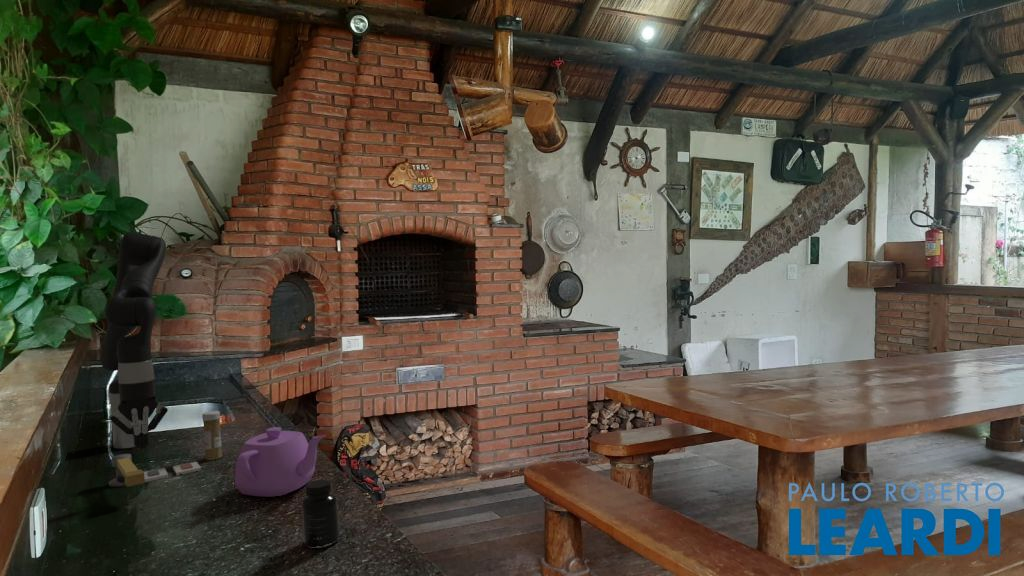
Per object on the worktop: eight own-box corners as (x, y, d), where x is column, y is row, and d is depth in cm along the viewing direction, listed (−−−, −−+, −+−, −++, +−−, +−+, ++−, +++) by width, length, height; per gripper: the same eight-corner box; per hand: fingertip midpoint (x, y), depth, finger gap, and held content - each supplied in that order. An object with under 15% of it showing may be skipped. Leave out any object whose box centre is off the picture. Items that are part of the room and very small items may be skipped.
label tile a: (139, 475, 174) (139, 471, 174) (164, 470, 177) (164, 466, 177) (142, 482, 168) (142, 478, 168) (168, 477, 172) (168, 473, 172)
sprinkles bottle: (223, 458, 186) (220, 412, 185) (206, 461, 184) (203, 415, 183) (221, 454, 190) (218, 409, 189) (204, 457, 188) (201, 412, 187)
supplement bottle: (308, 535, 132) (305, 478, 132) (342, 533, 133) (339, 476, 132) (300, 551, 125) (296, 490, 125) (336, 548, 126) (332, 488, 125)
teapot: (212, 504, 151) (208, 441, 150) (271, 474, 171) (268, 417, 170) (295, 513, 144) (291, 446, 144) (347, 480, 164) (343, 421, 164)
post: (108, 482, 170) (106, 465, 169) (136, 476, 173) (134, 459, 173) (109, 489, 164) (108, 471, 164) (138, 483, 168) (137, 465, 168)
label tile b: (172, 469, 179) (172, 465, 178) (196, 464, 182) (196, 460, 182) (176, 475, 173) (176, 471, 173) (201, 470, 176) (200, 466, 176)
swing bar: (130, 460, 172) (129, 451, 171) (146, 482, 154) (146, 472, 154) (110, 464, 169) (110, 455, 169) (125, 487, 151) (124, 477, 151)
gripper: (163, 372, 165) (167, 439, 166) (102, 381, 157) (107, 451, 158) (170, 377, 159) (174, 446, 160) (107, 385, 151) (112, 458, 152)
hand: (141, 448), depth 159 cm, fingers closed
